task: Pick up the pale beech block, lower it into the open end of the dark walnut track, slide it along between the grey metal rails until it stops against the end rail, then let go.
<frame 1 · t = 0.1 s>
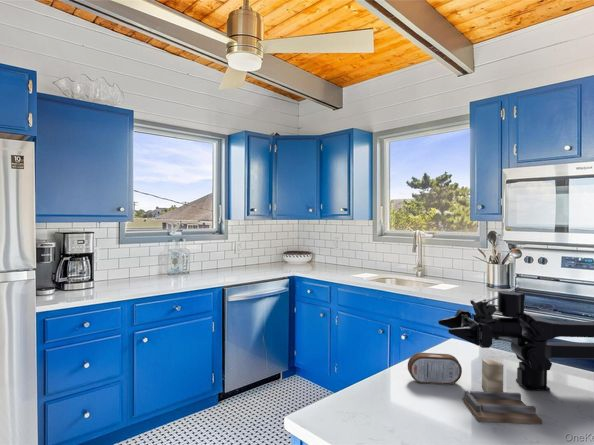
hand: (443, 326, 112), 17 cm above the counter, tool horizontal, fingers open, 9 cm apart
tin: (434, 383, 113), on the counter
track: (497, 408, 97), on the counter
block: (492, 390, 108), on the counter
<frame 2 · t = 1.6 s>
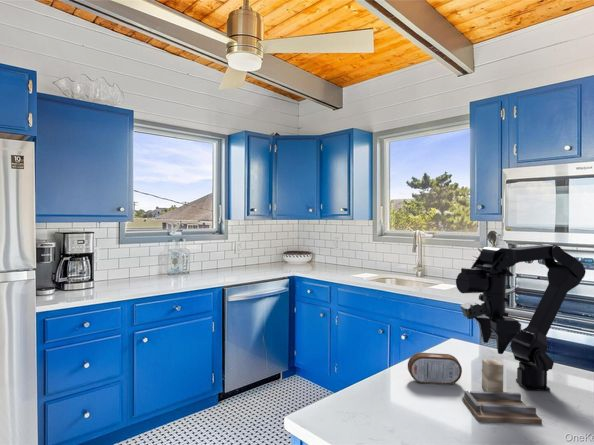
hand: (492, 348, 108), 12 cm above the counter, tool pointing down, fingers open, 9 cm apart
nothing on the counter moved.
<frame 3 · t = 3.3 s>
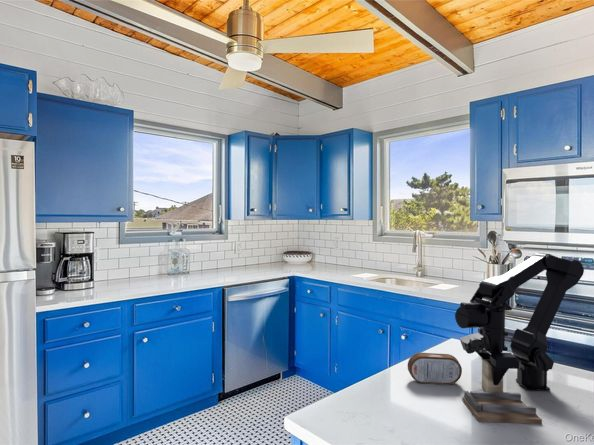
hand: (492, 381, 108), 3 cm above the counter, tool pointing down, fingers closed on block, 4 cm apart
block: (492, 390, 108), on the counter, touching gripper
everything else where it was.
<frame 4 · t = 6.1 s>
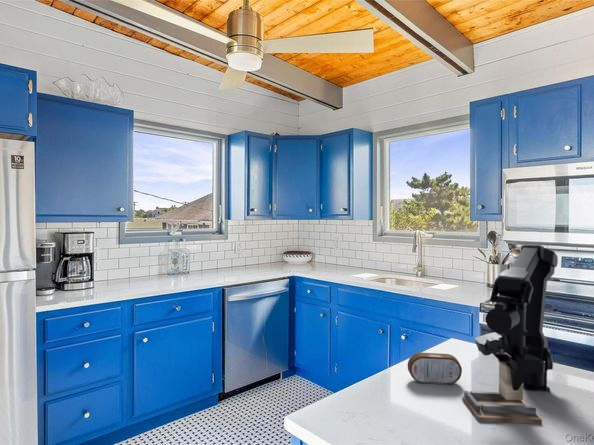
hand: (511, 386, 97), 6 cm above the counter, tool pointing down, fingers closed on block, 4 cm apart
block: (510, 396, 97), point 3 cm above the counter, touching gripper
everything else where it was.
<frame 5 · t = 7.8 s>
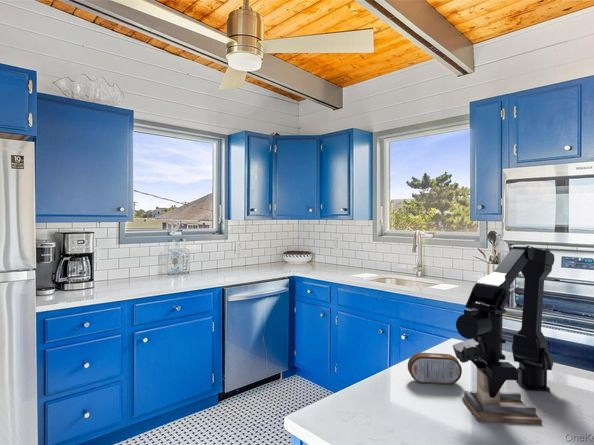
hand: (488, 393, 97), 4 cm above the counter, tool pointing down, fingers closed on block, 4 cm apart
block: (487, 403, 97), point 1 cm above the counter, touching gripper
everything else where it was.
when the fingers open (4 cm above the counter, at t = 9.3 s): block stays where it is, resting on track.
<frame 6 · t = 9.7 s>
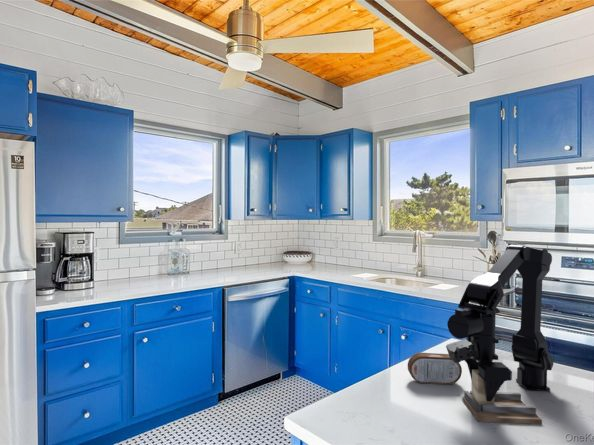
hand: (481, 393, 98), 4 cm above the counter, tool pointing down, fingers open, 8 cm apart
block: (482, 404, 98), point 1 cm above the counter, touching track
everything else where it was.
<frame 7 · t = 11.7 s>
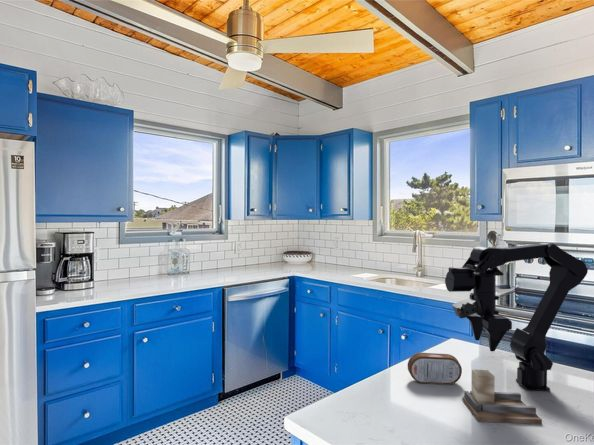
hand: (484, 345, 110), 12 cm above the counter, tool pointing down, fingers open, 9 cm apart
nothing on the counter moved.
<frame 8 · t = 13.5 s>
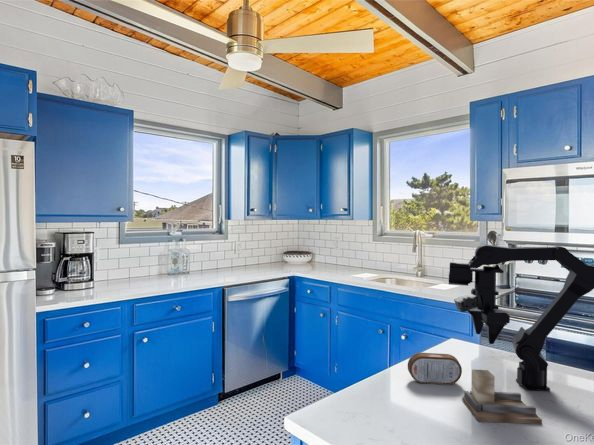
hand: (484, 338, 115), 12 cm above the counter, tool pointing down, fingers open, 9 cm apart
nothing on the counter moved.
at the end: block 0.1 cm from the target spot, point 1.0 cm above the counter; block tilted 0°; the gripper is holding nothing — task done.
